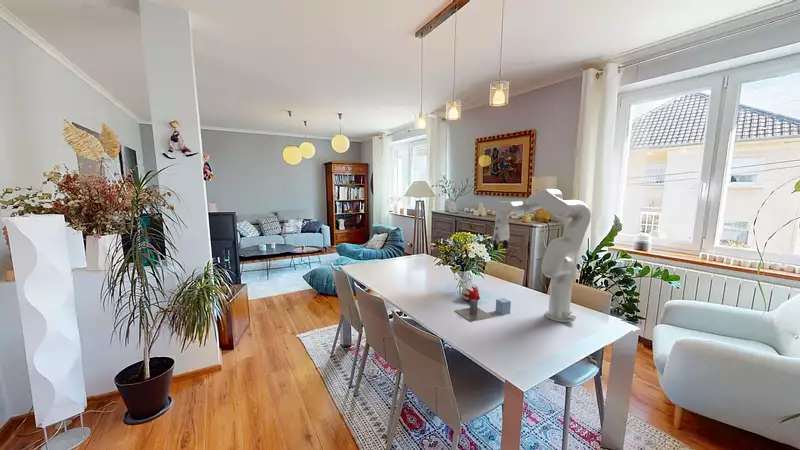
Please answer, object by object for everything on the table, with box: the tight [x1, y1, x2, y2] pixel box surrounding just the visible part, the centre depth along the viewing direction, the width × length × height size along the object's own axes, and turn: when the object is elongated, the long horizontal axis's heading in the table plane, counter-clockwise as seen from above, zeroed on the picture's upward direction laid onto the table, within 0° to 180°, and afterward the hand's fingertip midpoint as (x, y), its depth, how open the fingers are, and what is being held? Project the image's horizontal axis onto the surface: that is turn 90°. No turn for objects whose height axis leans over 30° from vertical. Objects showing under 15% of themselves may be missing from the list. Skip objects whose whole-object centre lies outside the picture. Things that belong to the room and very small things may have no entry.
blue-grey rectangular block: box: [495, 297, 512, 316], centre depth 161 cm, size 5×5×7 cm
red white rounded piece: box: [460, 283, 481, 302], centre depth 178 cm, size 9×11×15 cm
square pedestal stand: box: [454, 299, 494, 323], centre depth 158 cm, size 14×14×7 cm
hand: (500, 249), depth 187 cm, fingers open, 9 cm apart
